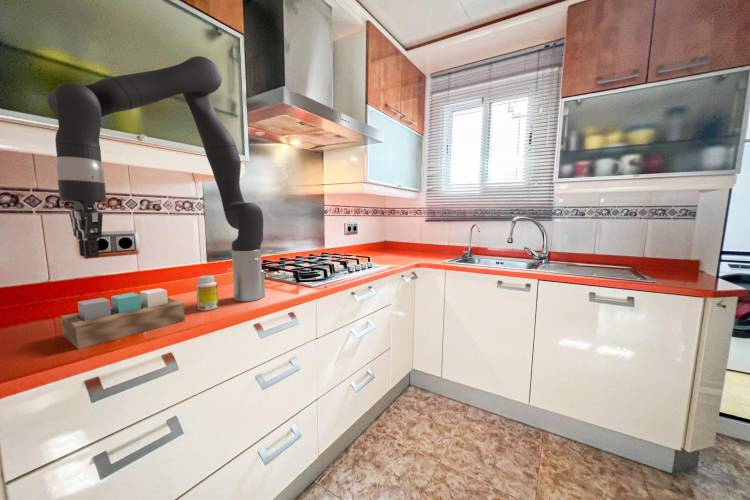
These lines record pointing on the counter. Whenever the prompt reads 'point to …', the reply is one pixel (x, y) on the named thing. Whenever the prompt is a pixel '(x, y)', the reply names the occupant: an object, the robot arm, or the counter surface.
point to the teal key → (125, 302)
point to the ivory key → (153, 297)
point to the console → (120, 324)
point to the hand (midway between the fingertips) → (89, 256)
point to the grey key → (94, 309)
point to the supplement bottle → (207, 293)
